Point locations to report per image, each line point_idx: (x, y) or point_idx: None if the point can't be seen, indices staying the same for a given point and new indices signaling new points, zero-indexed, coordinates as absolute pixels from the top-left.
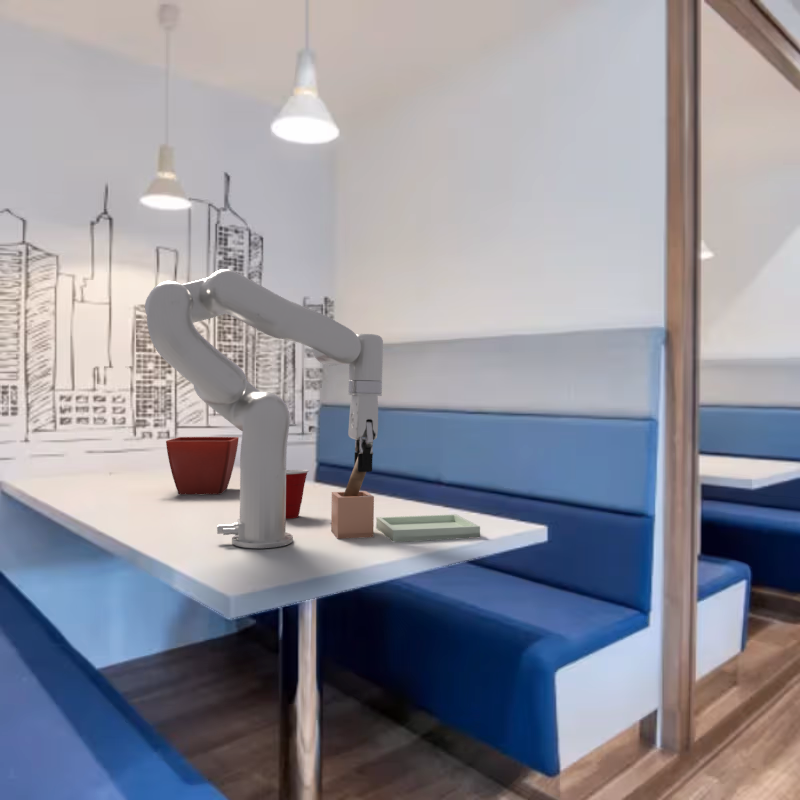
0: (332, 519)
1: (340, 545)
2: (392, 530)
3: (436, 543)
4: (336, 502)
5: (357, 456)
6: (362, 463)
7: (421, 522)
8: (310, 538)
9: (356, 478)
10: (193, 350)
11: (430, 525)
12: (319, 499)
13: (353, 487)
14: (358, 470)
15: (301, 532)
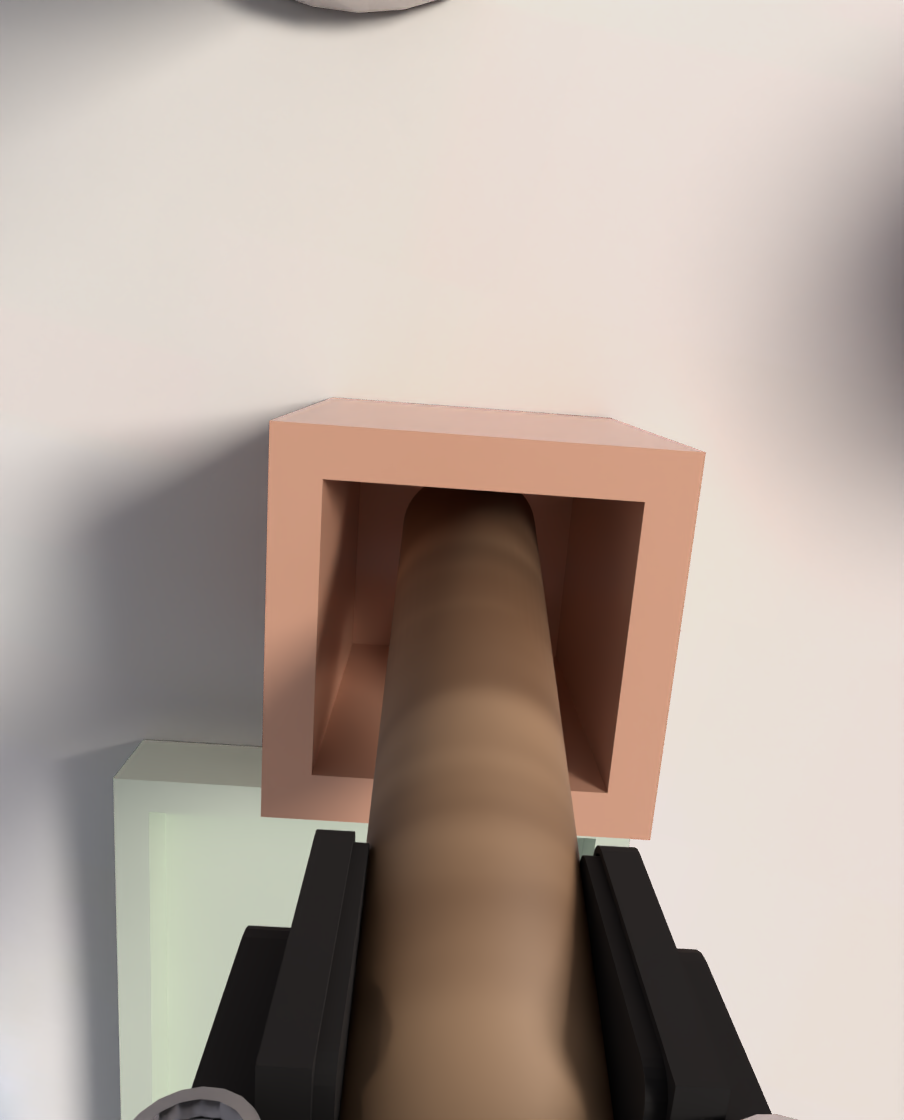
0: (576, 421)
1: (119, 364)
2: (132, 776)
3: (55, 971)
4: (375, 421)
5: (626, 1051)
6: (233, 968)
7: None
8: (408, 191)
9: (382, 754)
10: None
11: None
12: None
13: (389, 666)
14: (318, 836)
15: (652, 166)
